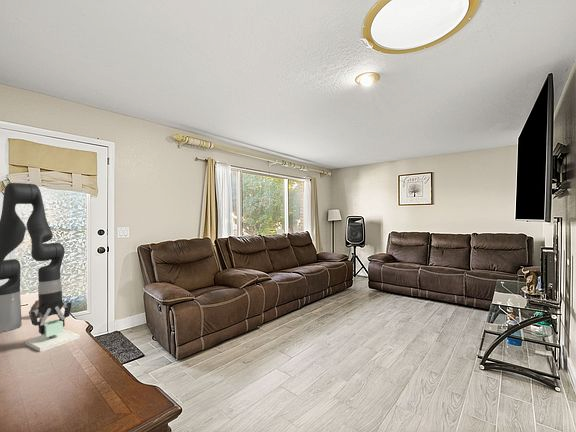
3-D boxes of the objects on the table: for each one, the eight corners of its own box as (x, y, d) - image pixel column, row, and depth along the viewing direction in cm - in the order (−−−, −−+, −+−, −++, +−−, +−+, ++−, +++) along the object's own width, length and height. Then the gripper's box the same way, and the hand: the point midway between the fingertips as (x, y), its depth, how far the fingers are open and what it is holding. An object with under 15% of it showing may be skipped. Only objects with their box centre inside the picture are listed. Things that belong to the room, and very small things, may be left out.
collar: (41, 334, 115) (40, 324, 115) (57, 329, 120) (57, 319, 120) (46, 337, 112) (46, 326, 112) (63, 332, 117) (62, 321, 117)
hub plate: (25, 344, 114) (24, 327, 114) (63, 332, 125) (62, 316, 125) (40, 351, 106) (39, 333, 106) (79, 338, 117) (78, 321, 117)
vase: (37, 319, 146) (36, 302, 146) (27, 318, 147) (26, 302, 147) (50, 314, 153) (50, 298, 153) (40, 314, 154) (40, 298, 154)
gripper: (66, 286, 124) (68, 323, 124) (24, 294, 112) (26, 336, 111) (74, 287, 120) (76, 326, 120) (31, 296, 108) (33, 339, 108)
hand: (52, 330), depth 116 cm, fingers closed on collar, 5 cm apart
